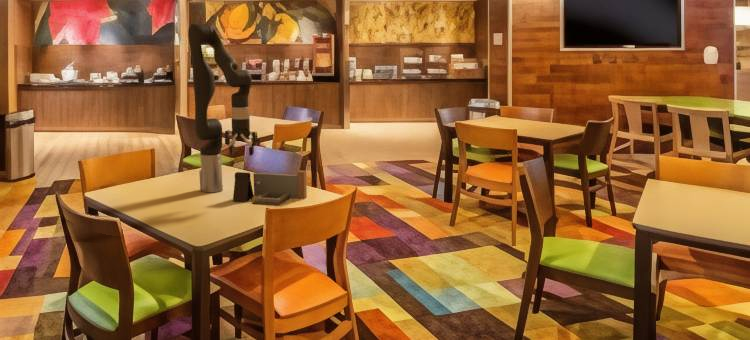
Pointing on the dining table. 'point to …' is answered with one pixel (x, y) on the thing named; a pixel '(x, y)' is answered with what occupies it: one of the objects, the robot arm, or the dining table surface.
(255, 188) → the dark grey panel
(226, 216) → the dining table surface
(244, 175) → the phone stand
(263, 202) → the stopper pocket
